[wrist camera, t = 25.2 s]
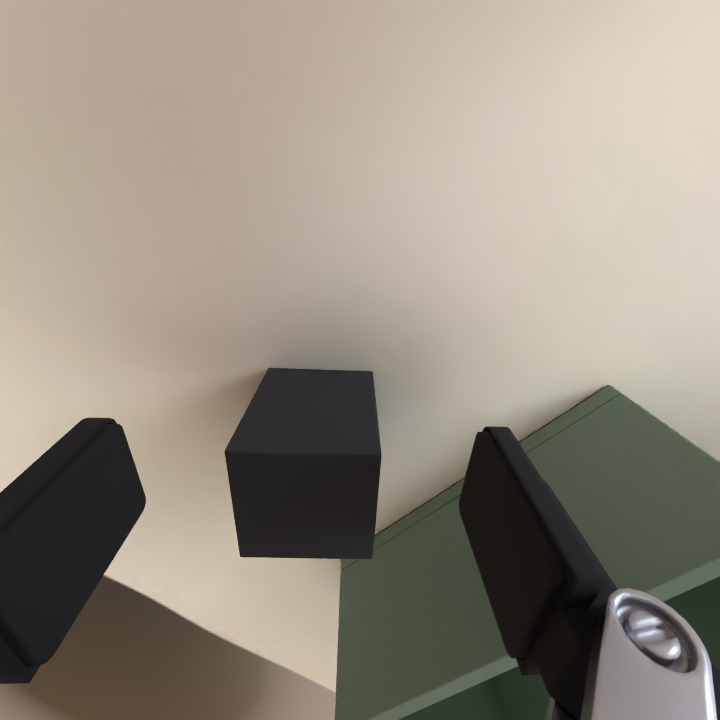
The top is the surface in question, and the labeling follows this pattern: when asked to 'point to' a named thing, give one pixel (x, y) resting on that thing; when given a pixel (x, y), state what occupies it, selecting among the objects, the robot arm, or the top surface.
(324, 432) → the black block
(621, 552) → the chest
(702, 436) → the top surface
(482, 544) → the robot arm
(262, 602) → the top surface
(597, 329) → the top surface
